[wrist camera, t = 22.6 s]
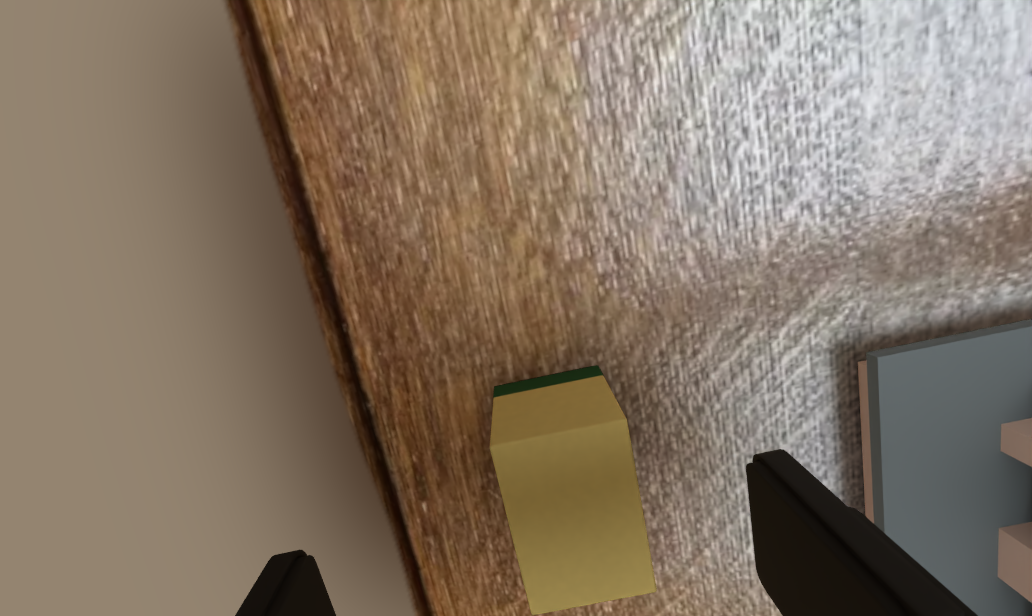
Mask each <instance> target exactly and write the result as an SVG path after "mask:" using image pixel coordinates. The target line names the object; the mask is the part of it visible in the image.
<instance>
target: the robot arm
mask: <svg viewBox="0 0 1032 616" xmlns="http://www.w3.org/2000/svg"><path fill="white" fill-rule="evenodd" d="M746 473H747V483H748V493H749V503H750V513H751V523H752V533H753V543H754V553H755V563H756V570H757V573H758V576H759V579H760V581H761V583H762V585H763V587H764V589H765V590H766V591H767V593H768V594H769V596H770V597H771V599H772V600H773V602H774V603H775V605H776V606H777V608H778V609H779V611H780V612H781V614H782V615H783V616H978V615H977V614H976V613H975V612H973V611H972V610H971V609H970V608H969V607H968V606H967V605H965V604H964V603H963V602H962V601H961V600H960V599H959V598H958V597H956V596H955V595H954V594H953V593H952V592H951V591H950V590H948V589H947V588H946V587H945V586H944V585H943V584H942V583H941V582H939V581H938V580H937V579H936V578H935V577H934V576H933V575H931V574H930V573H929V572H928V571H927V570H926V569H925V568H924V567H922V566H921V565H920V564H919V563H918V562H917V561H916V560H914V559H913V558H912V557H911V556H910V555H909V554H908V553H907V552H905V551H904V550H903V549H902V548H901V547H900V546H899V545H897V544H896V543H895V542H894V541H893V540H892V539H891V538H890V537H888V536H887V535H886V534H885V533H884V532H883V531H882V530H880V529H879V528H878V527H877V526H876V525H875V524H874V523H873V522H871V521H870V520H869V519H868V518H867V517H866V516H865V515H863V514H862V513H861V512H859V511H858V510H857V509H855V508H852V507H849V506H846V505H845V504H844V503H843V502H842V501H841V500H840V499H839V498H838V497H836V496H835V495H834V494H833V493H832V492H831V491H830V490H829V489H828V488H826V487H825V486H824V485H823V484H822V483H821V482H820V481H819V480H818V479H816V478H815V477H814V476H813V475H812V474H811V473H810V472H809V471H808V470H806V469H805V468H804V467H803V466H802V465H801V464H800V463H799V462H798V461H796V460H795V459H794V458H793V457H792V456H791V455H790V454H789V453H788V452H786V451H785V450H782V449H779V450H774V451H770V452H765V453H760V454H756V455H754V456H753V463H748V464H747V466H746ZM235 616H336V614H335V611H334V609H333V606H332V604H331V601H330V598H329V595H328V593H327V590H326V587H325V585H324V582H323V579H322V577H321V574H320V571H319V569H318V566H317V563H316V561H315V559H314V557H313V556H311V555H308V556H307V554H306V553H305V552H304V551H303V550H297V551H292V552H287V553H282V554H278V555H274V556H272V557H271V559H270V560H269V561H268V563H267V564H266V566H265V568H264V569H263V571H262V573H261V574H260V576H259V577H258V579H257V581H256V582H255V584H254V586H253V587H252V589H251V591H250V592H249V594H248V595H247V597H246V599H245V600H244V602H243V604H242V605H241V607H240V608H239V610H238V612H237V614H236V615H235Z"/></svg>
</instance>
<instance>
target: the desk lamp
mask: <svg viewBox="0 0 1032 616" xmlns="http://www.w3.org/2000/svg"><path fill="white" fill-rule="evenodd" d="M858 376H859V396H860V415H861V435H862V455H863V475H864V495H865V515H866V517H867V518H868V519H869V520H870V521H871V522H873V523H874V524H875V525H876V526H877V527H878V528H879V529H880V530H882V531H883V532H884V533H885V534H886V535H887V536H888V537H890V538H891V539H892V540H893V541H894V542H895V543H896V544H897V545H899V546H900V547H901V548H902V549H903V550H904V551H905V552H907V553H908V554H909V555H910V556H911V557H912V558H913V559H914V560H916V561H917V562H918V563H919V564H920V565H921V566H922V567H924V568H925V569H926V570H927V571H928V572H929V573H930V574H931V575H933V576H934V577H935V578H936V579H937V580H938V581H939V582H941V583H942V584H943V585H944V586H945V587H946V588H947V589H948V590H950V591H951V592H952V593H953V594H954V595H955V596H956V597H958V598H959V599H960V600H961V601H962V602H963V603H964V604H965V605H967V606H968V607H969V608H970V609H971V610H972V611H973V612H975V613H976V614H977V615H978V616H1032V319H1029V320H1024V321H1019V322H1014V323H1010V324H1005V325H1000V326H995V327H990V328H985V329H980V330H975V331H970V332H965V333H960V334H955V335H950V336H945V337H940V338H935V339H930V340H926V341H921V342H916V343H911V344H906V345H901V346H896V347H891V348H886V349H881V350H876V351H871V352H866V360H865V361H860V362H858Z"/></svg>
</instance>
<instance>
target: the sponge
mask: <svg viewBox="0 0 1032 616" xmlns="http://www.w3.org/2000/svg"><path fill="white" fill-rule="evenodd" d="M493 398H494V399H493V410H492V424H491V437H490V451H491V455H492V459H493V463H494V467H495V471H496V475H497V479H498V483H499V487H500V491H501V495H502V499H503V503H504V507H505V511H506V515H507V519H508V523H509V527H510V531H511V535H512V539H513V543H514V547H515V551H516V555H517V559H518V563H519V567H520V571H521V575H522V579H523V583H524V587H525V591H526V595H527V599H528V603H529V607H530V611H531V614H532V615H537V614H542V613H548V612H553V611H558V610H564V609H569V608H574V607H579V606H585V605H590V604H595V603H600V602H606V601H611V600H616V599H621V598H627V597H632V596H637V595H643V594H648V593H653V592H656V589H657V588H656V583H655V577H654V571H653V566H652V560H651V554H650V548H649V543H648V537H647V531H646V525H645V520H644V514H643V508H642V503H641V497H640V491H639V485H638V480H637V474H636V468H635V463H634V457H633V451H632V445H631V440H630V434H629V428H628V422H627V419H626V417H625V415H624V413H623V411H622V409H621V408H620V406H619V404H618V402H617V400H616V398H615V396H614V394H613V393H612V391H611V389H610V387H609V385H608V383H607V381H606V379H605V378H604V376H603V374H602V372H601V370H600V368H599V366H598V365H596V366H591V367H586V368H582V369H577V370H572V371H567V372H562V373H557V374H553V375H548V376H543V377H538V378H533V379H528V380H523V381H519V382H514V383H509V384H504V385H499V386H495V387H494V395H493Z"/></svg>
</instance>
